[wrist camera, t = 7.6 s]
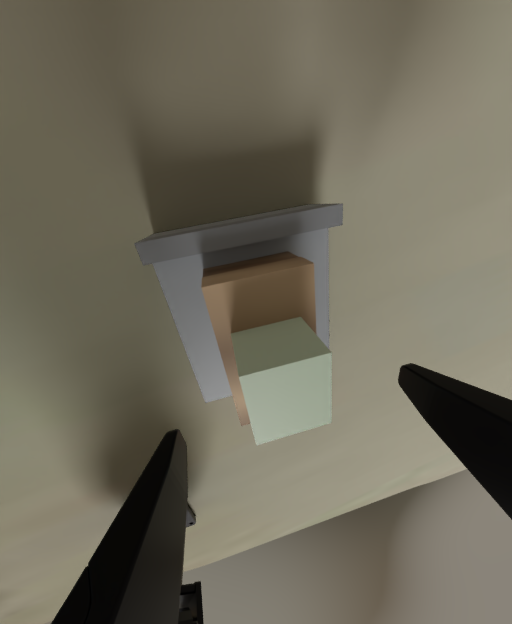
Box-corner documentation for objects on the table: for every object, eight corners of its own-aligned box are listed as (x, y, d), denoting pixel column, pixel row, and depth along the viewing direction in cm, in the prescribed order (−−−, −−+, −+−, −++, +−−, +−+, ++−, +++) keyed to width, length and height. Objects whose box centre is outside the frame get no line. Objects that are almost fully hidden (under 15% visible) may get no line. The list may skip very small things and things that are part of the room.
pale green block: (305, 377, 13) (331, 422, 10) (245, 393, 12) (256, 445, 10) (300, 316, 11) (331, 352, 8) (230, 333, 10) (238, 377, 8)
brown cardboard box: (298, 367, 17) (318, 403, 14) (234, 384, 16) (241, 425, 13) (288, 249, 13) (314, 263, 10) (202, 267, 12) (201, 287, 9)
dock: (315, 350, 20) (339, 381, 16) (205, 379, 19) (205, 419, 15) (309, 204, 14) (342, 203, 11) (153, 233, 13) (134, 243, 10)
